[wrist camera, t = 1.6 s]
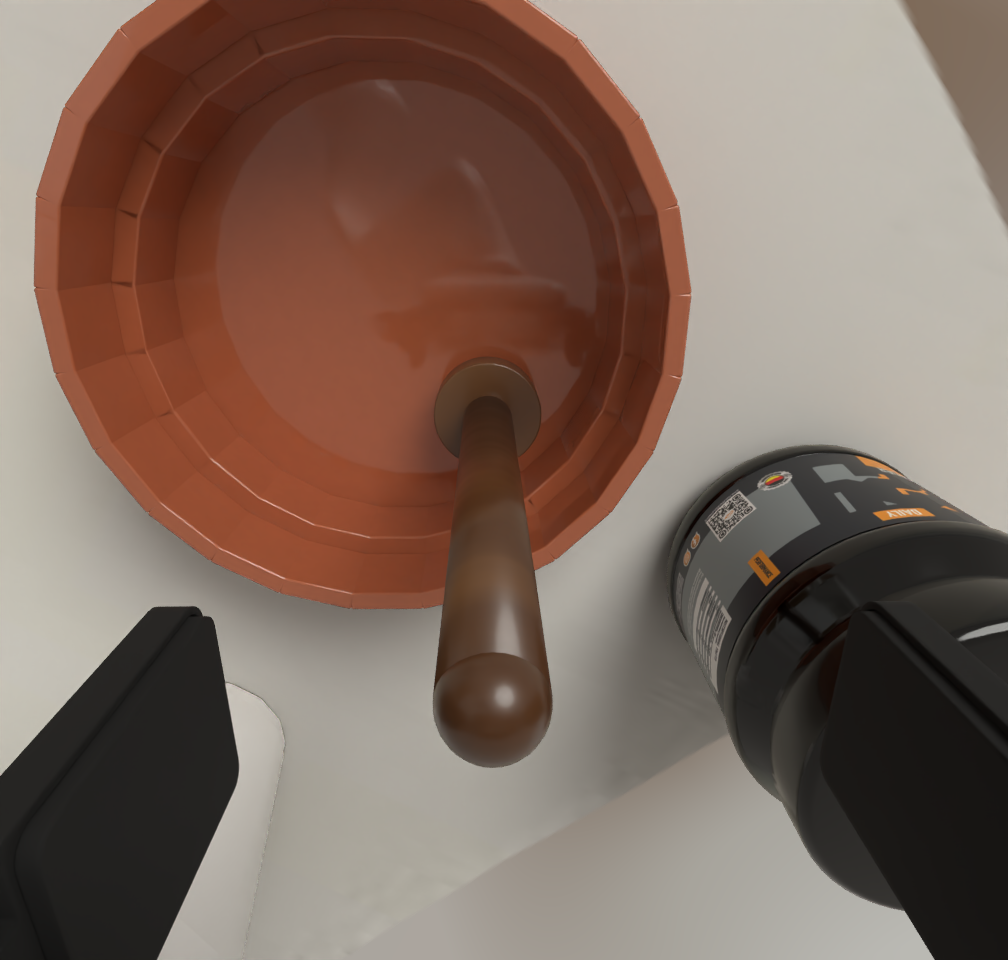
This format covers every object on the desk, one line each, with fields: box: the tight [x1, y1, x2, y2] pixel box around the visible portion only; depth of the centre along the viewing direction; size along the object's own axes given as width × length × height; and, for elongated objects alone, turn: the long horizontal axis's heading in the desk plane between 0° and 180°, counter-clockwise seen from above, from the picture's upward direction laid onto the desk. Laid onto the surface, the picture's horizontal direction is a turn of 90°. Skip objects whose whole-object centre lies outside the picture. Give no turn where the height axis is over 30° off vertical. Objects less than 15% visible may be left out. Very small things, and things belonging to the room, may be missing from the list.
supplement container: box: [667, 445, 1008, 911], centre depth 22 cm, size 10×10×12 cm
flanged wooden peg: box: [433, 357, 553, 768], centre depth 15 cm, size 4×4×16 cm
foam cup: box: [157, 683, 286, 960], centre depth 24 cm, size 10×9×13 cm
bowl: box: [34, 0, 691, 609], centre depth 20 cm, size 17×17×6 cm
